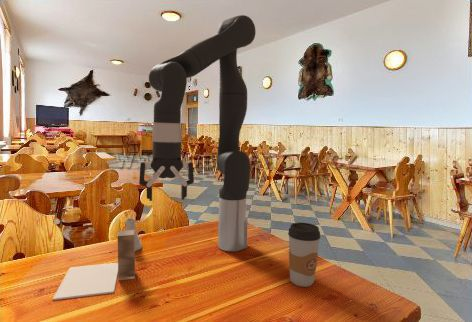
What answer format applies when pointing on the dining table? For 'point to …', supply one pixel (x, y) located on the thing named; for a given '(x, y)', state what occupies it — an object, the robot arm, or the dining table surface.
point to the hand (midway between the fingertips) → (166, 199)
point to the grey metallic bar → (126, 254)
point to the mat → (88, 281)
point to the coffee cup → (303, 253)
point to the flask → (131, 226)
